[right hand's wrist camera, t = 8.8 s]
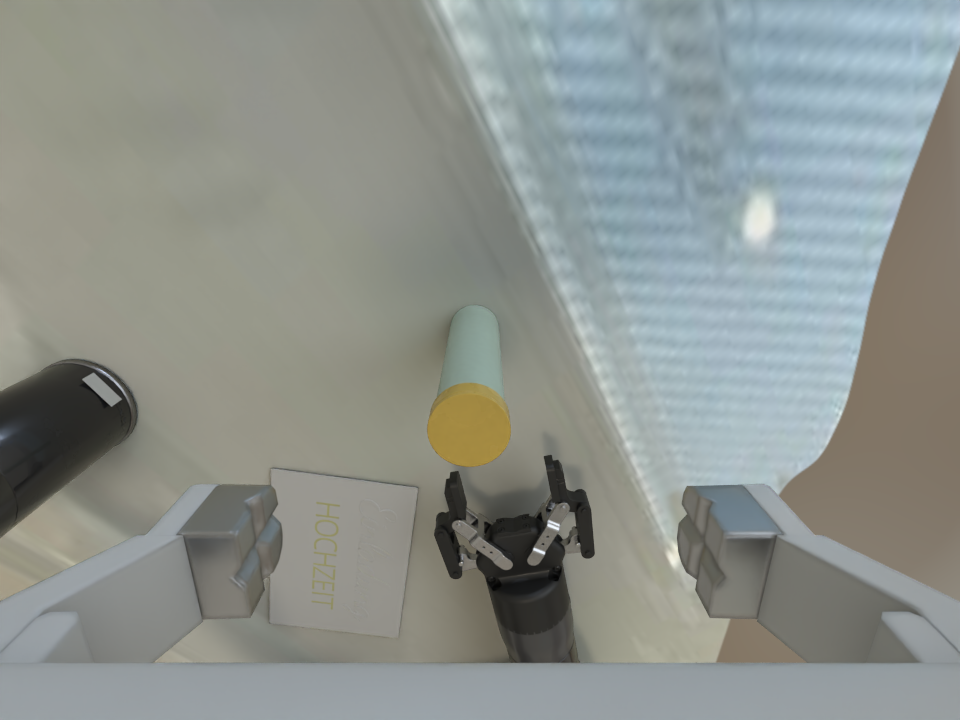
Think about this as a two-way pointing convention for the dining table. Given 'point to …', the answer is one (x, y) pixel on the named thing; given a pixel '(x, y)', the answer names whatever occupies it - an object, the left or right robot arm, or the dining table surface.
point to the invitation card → (341, 553)
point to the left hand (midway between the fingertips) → (500, 468)
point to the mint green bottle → (473, 350)
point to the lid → (469, 425)
